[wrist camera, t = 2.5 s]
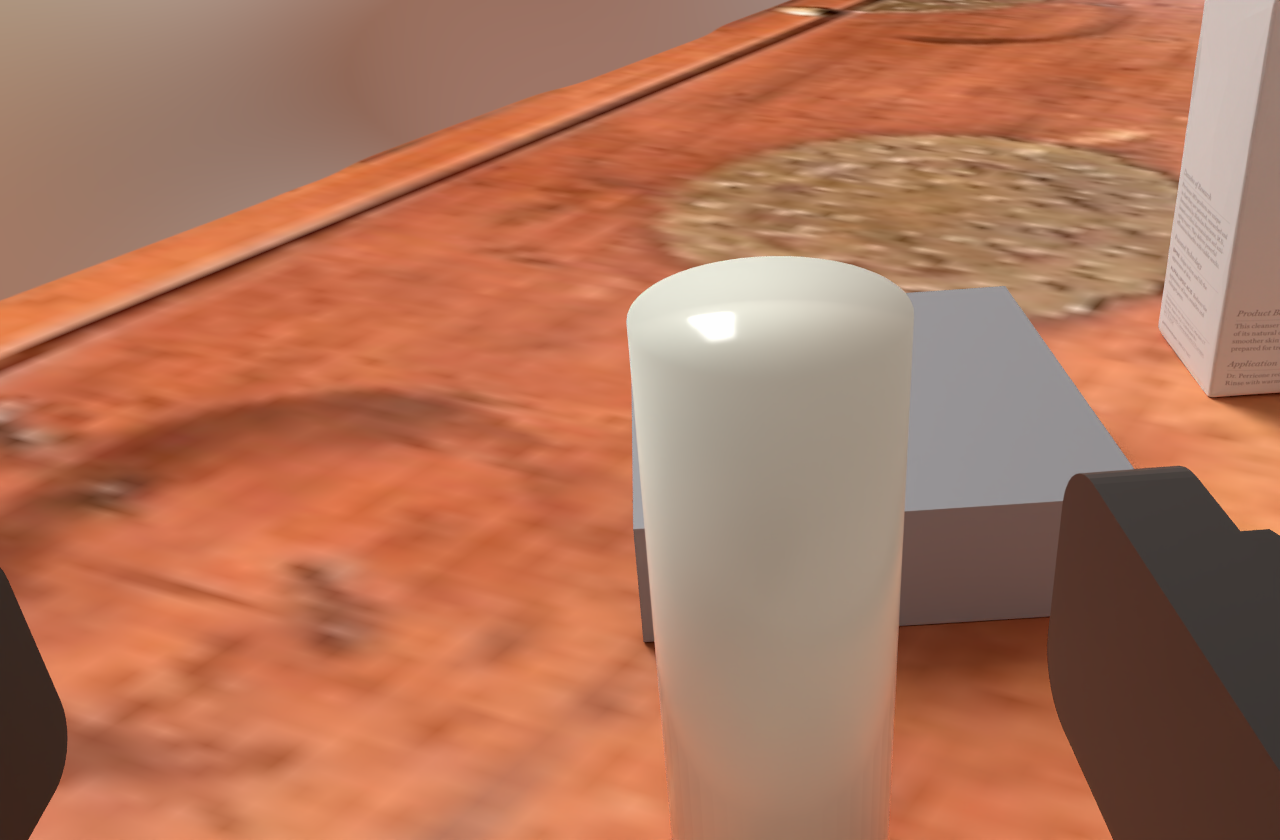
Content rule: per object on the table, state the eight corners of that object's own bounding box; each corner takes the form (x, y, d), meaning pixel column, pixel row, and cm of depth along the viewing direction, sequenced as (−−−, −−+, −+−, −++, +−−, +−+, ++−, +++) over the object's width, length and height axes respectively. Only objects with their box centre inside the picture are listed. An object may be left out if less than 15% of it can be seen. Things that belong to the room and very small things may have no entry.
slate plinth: (643, 642, 34) (633, 529, 32) (638, 404, 46) (630, 312, 44) (1131, 611, 33) (1152, 495, 31) (996, 380, 45) (1004, 286, 43)
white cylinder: (679, 968, 25) (626, 388, 18) (671, 791, 29) (626, 266, 22) (906, 954, 24) (945, 366, 17) (865, 780, 29) (883, 248, 22)
